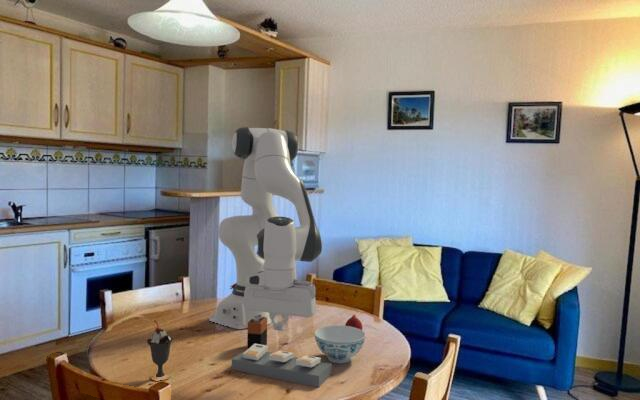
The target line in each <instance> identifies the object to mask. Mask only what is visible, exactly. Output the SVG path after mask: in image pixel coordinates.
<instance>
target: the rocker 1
mask: <svg viewBox="0 0 640 400" xmlns="http://www.w3.org/2000/svg"><path fill="white" fill-rule="evenodd" d="M246 350H247V349H246ZM246 350H245V351H246ZM243 352H244V351H243ZM266 352H269V345H268V344H267V345H261V344H253V345H252V346H251V347H250V348H249V349H248V350H247V351H246V352H244V353H243V358H247V359H252V360H258V359H259V358H260V357H262V356H263V354H265V353H266Z"/></svg>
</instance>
